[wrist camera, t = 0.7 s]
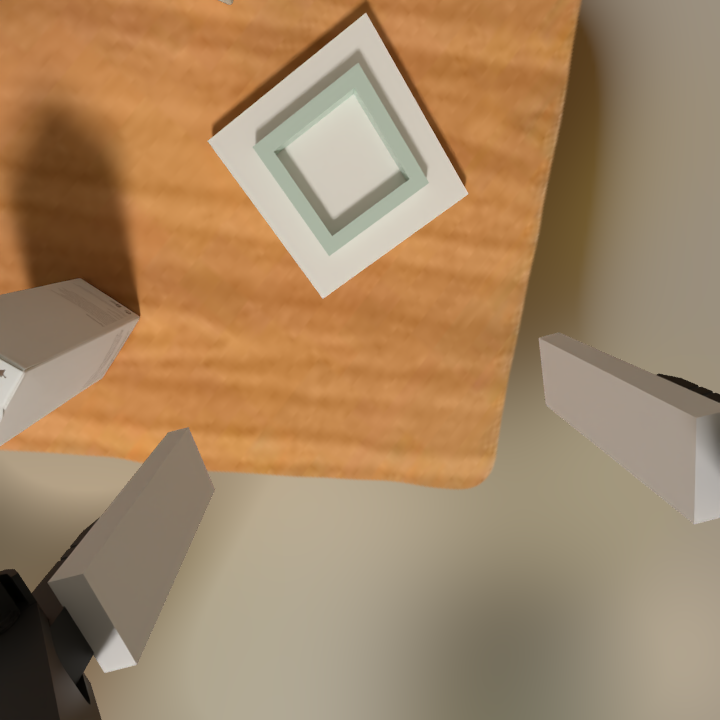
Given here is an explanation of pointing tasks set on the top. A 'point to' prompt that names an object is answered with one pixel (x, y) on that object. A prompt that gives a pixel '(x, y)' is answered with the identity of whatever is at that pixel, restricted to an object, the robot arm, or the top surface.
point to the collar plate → (340, 159)
